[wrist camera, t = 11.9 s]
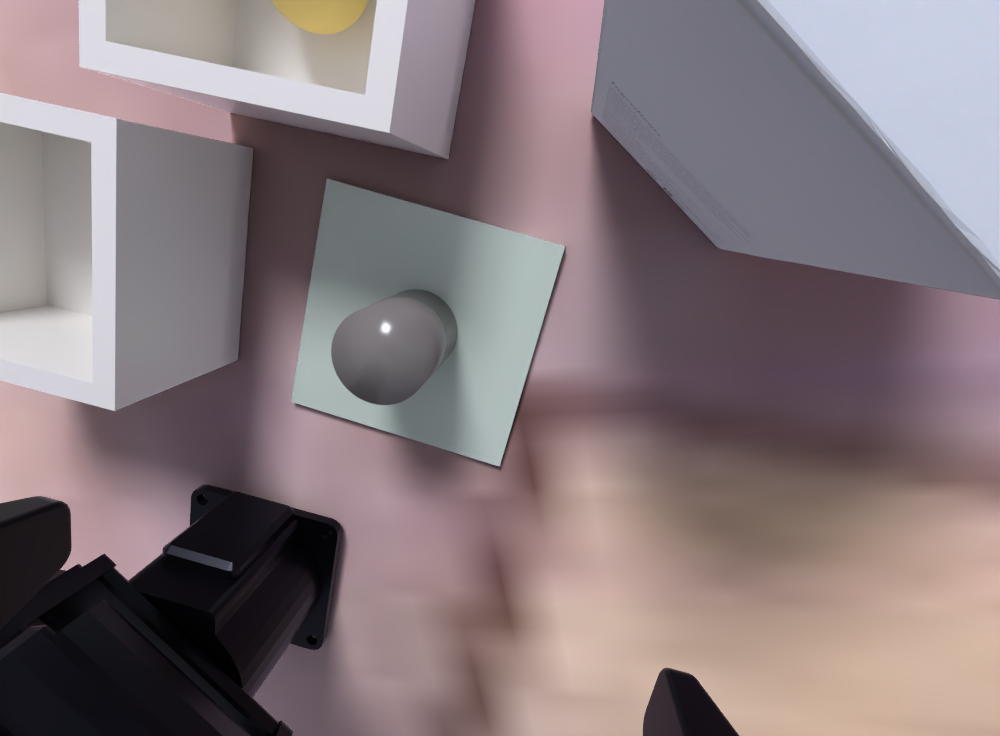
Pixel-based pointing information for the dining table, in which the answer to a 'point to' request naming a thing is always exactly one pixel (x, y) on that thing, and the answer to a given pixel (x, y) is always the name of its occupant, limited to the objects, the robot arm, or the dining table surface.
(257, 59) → the pot
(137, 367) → the pot
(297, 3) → the ball
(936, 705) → the dining table surface
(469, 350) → the lid
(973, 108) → the small box
